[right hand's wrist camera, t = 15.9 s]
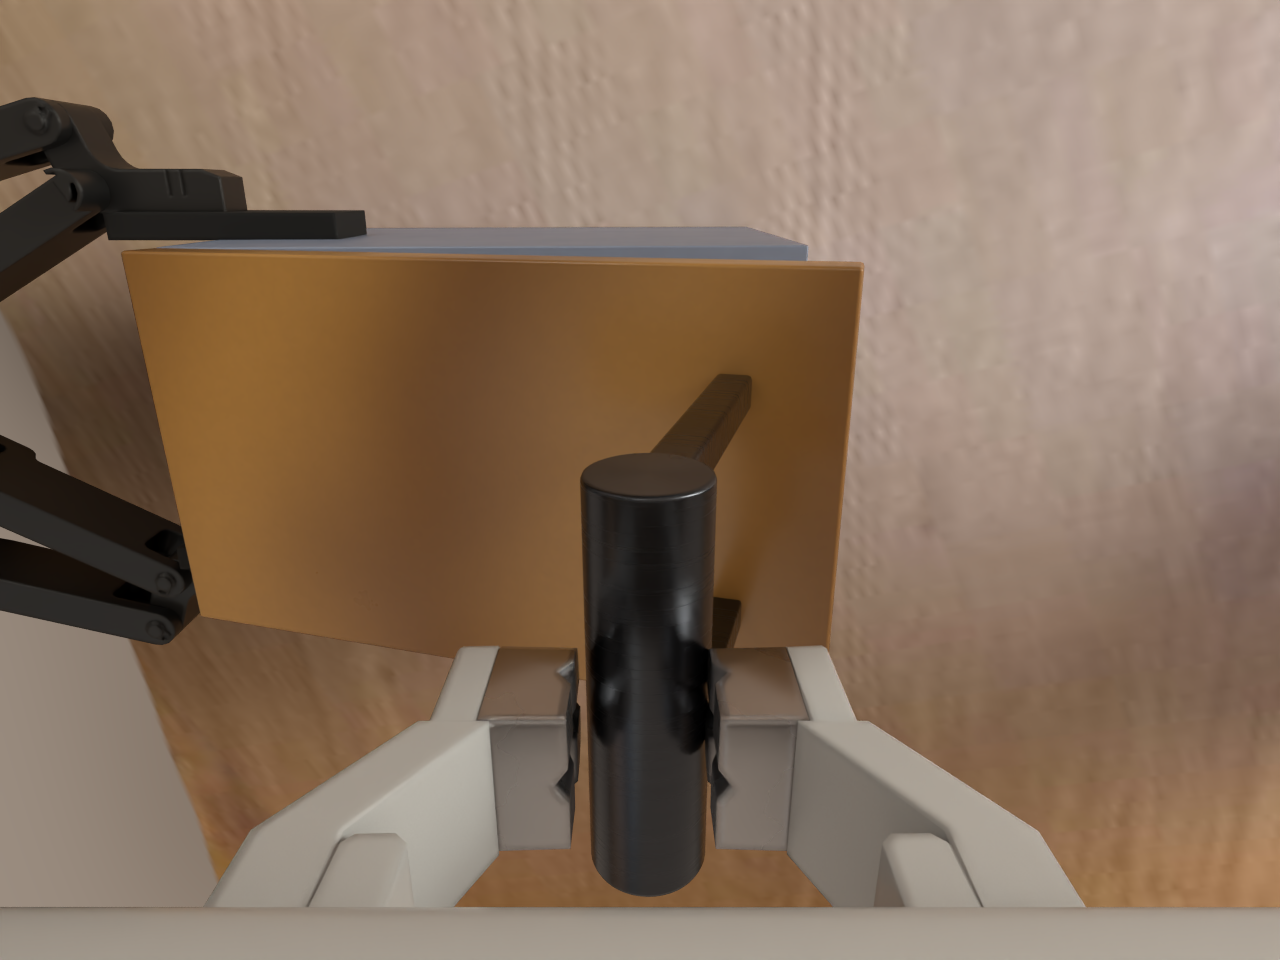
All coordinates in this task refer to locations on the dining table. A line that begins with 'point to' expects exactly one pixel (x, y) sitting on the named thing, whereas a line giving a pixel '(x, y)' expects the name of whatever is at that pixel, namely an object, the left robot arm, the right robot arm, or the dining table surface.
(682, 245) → the chest
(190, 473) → the door
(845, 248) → the dining table surface
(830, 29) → the dining table surface
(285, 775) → the dining table surface
